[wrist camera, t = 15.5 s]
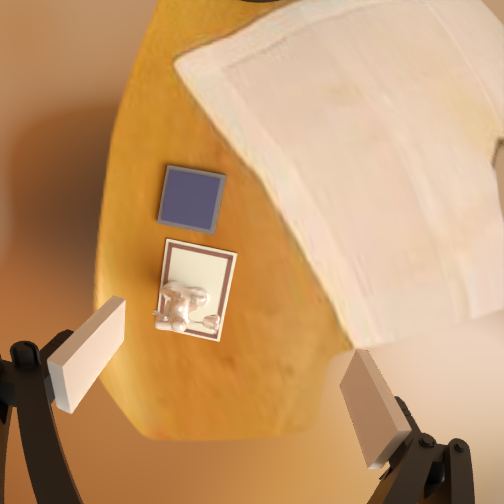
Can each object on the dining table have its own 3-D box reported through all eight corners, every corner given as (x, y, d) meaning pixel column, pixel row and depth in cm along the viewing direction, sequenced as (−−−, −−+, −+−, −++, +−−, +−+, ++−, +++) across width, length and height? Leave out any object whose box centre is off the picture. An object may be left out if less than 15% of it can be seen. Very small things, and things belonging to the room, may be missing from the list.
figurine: (161, 275, 42) (131, 308, 30) (224, 278, 42) (215, 315, 30) (162, 306, 43) (136, 346, 31) (224, 310, 43) (216, 354, 31)
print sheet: (167, 238, 41) (166, 238, 40) (237, 253, 41) (237, 253, 41) (156, 325, 44) (155, 327, 43) (219, 340, 44) (219, 341, 44)
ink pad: (169, 165, 38) (167, 164, 37) (226, 175, 39) (225, 175, 38) (159, 222, 40) (156, 223, 39) (214, 233, 41) (213, 235, 39)
